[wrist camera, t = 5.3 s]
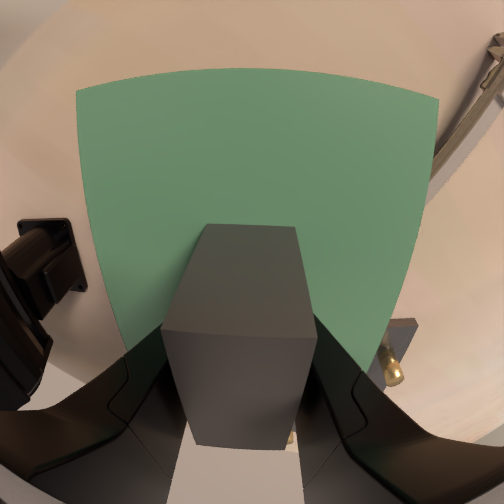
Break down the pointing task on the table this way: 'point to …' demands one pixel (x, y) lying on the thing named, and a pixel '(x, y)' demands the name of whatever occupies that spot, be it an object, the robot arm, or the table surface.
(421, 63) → the table surface
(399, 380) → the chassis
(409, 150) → the board
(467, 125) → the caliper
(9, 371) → the robot arm
